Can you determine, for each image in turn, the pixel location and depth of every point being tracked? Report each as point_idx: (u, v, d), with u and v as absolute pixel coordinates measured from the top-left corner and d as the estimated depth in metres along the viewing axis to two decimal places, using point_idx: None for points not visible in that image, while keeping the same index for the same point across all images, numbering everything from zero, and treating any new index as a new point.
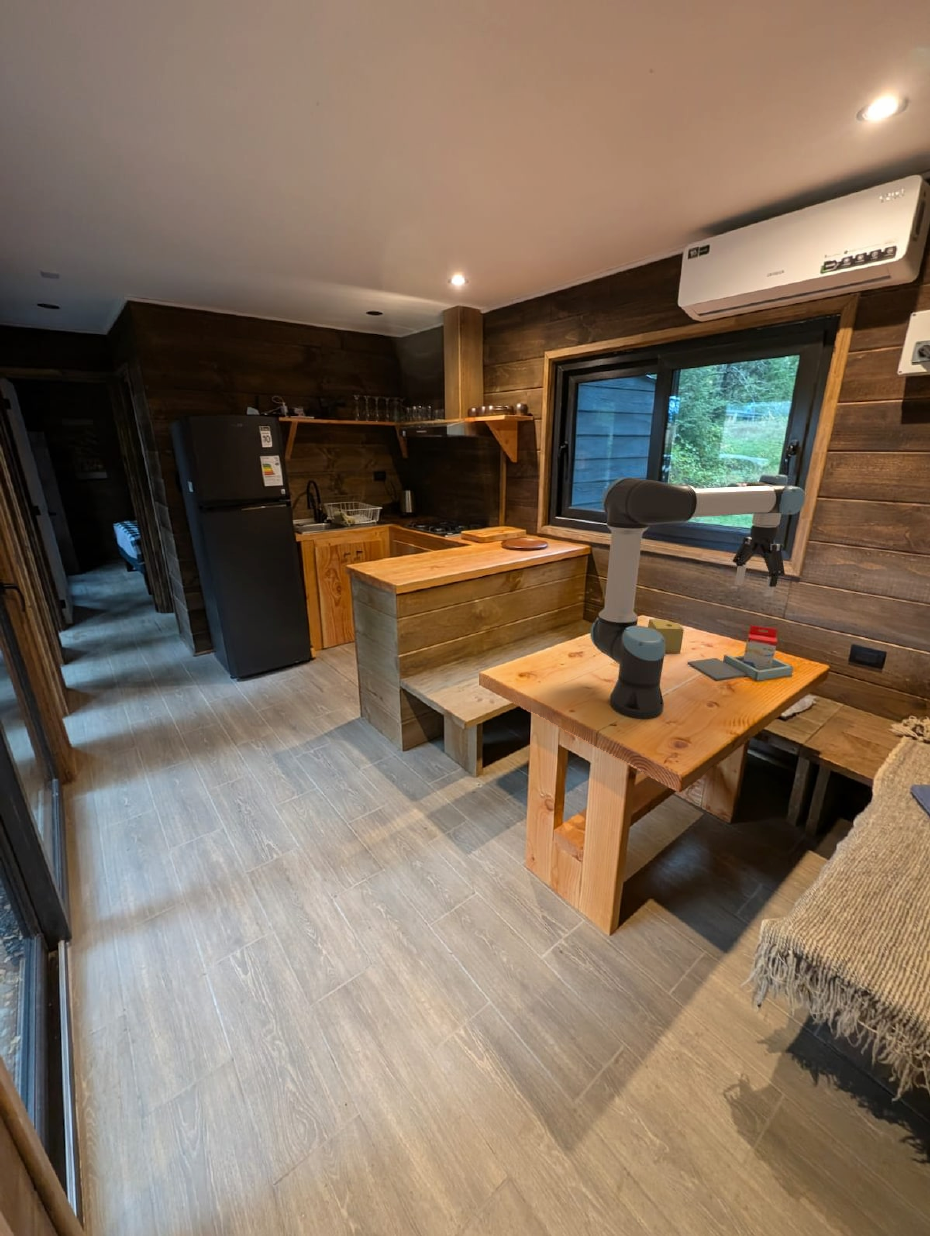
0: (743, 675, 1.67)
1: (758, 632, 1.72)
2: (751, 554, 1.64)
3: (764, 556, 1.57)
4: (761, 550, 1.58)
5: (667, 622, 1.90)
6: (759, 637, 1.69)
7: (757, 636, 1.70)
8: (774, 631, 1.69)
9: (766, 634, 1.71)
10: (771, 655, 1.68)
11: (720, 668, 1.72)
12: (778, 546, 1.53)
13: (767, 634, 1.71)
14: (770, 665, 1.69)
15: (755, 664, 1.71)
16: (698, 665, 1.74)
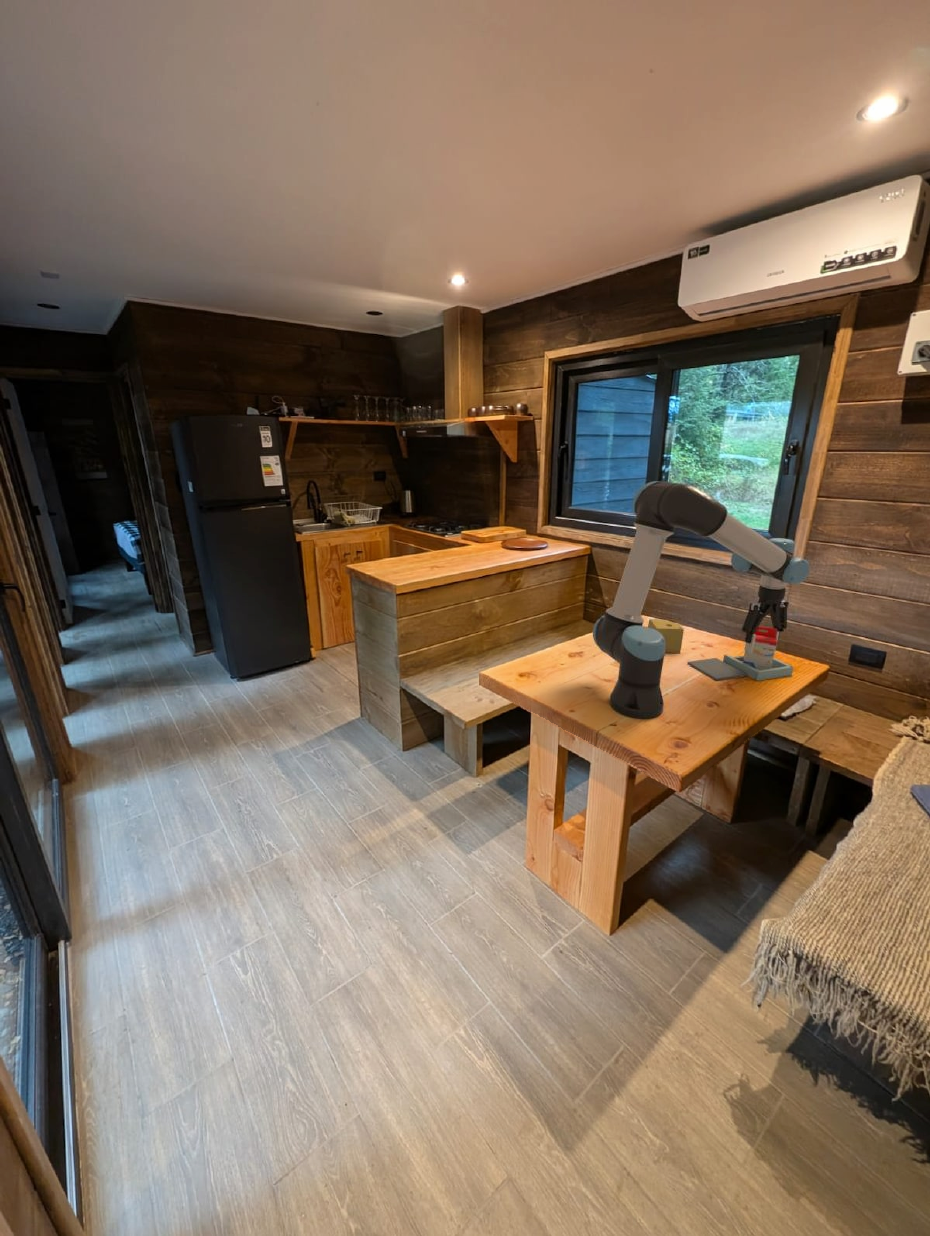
0: (743, 675, 1.67)
1: (758, 632, 1.72)
2: (773, 615, 1.68)
3: None
4: None
5: (667, 622, 1.90)
6: (759, 637, 1.69)
7: (757, 636, 1.70)
8: (774, 631, 1.69)
9: (766, 634, 1.71)
10: (771, 655, 1.68)
11: (720, 668, 1.72)
12: (752, 606, 1.64)
13: (767, 634, 1.71)
14: (770, 665, 1.69)
15: (755, 664, 1.71)
16: (698, 665, 1.74)
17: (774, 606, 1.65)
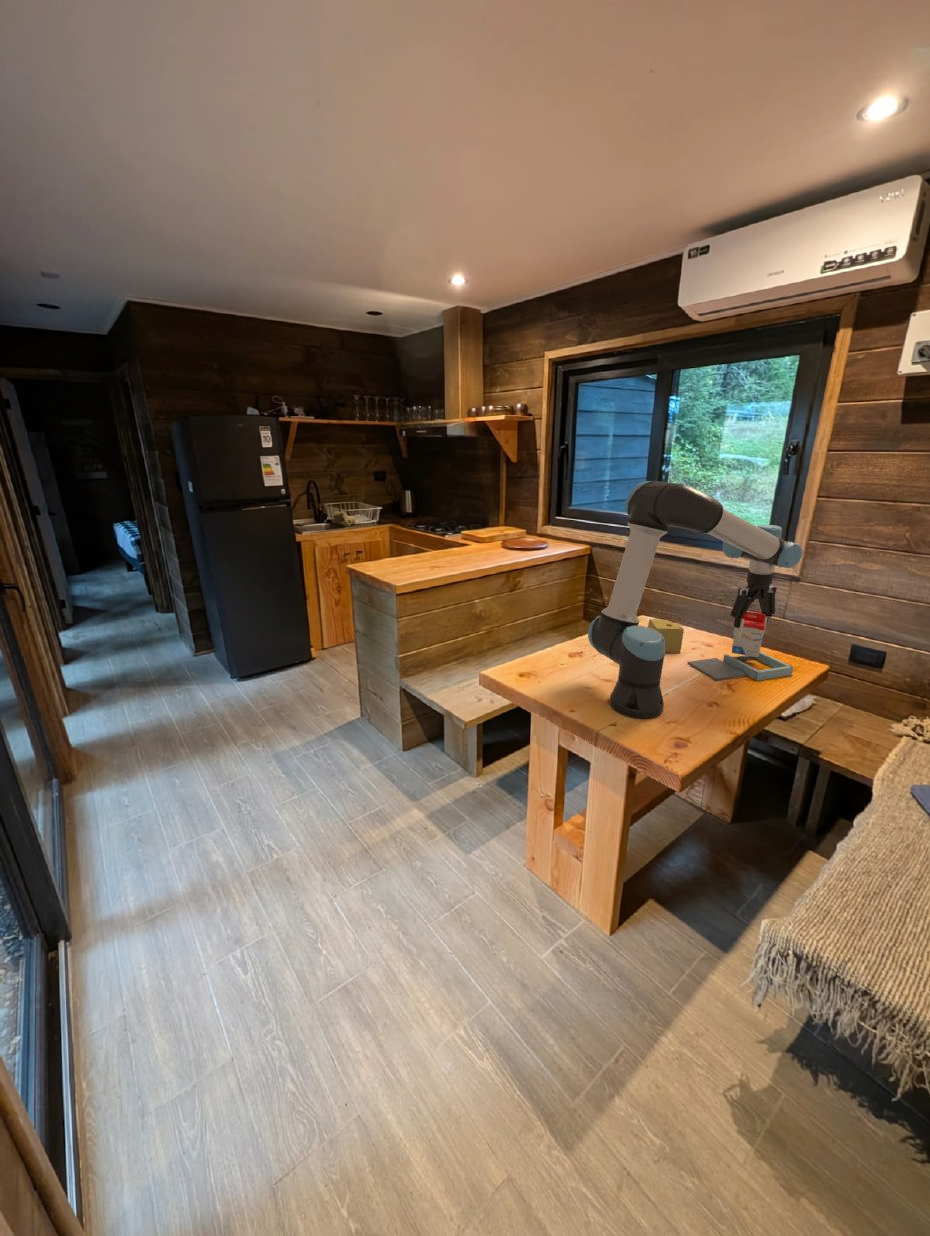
0: (743, 675, 1.67)
1: (747, 618, 1.76)
2: (761, 601, 1.72)
3: None
4: None
5: (667, 622, 1.90)
6: (748, 622, 1.73)
7: (746, 621, 1.74)
8: (762, 616, 1.73)
9: (755, 619, 1.75)
10: (759, 639, 1.72)
11: (720, 668, 1.72)
12: (741, 591, 1.68)
13: (756, 619, 1.75)
14: (758, 649, 1.73)
15: (744, 648, 1.75)
16: (698, 665, 1.74)
17: (762, 591, 1.69)
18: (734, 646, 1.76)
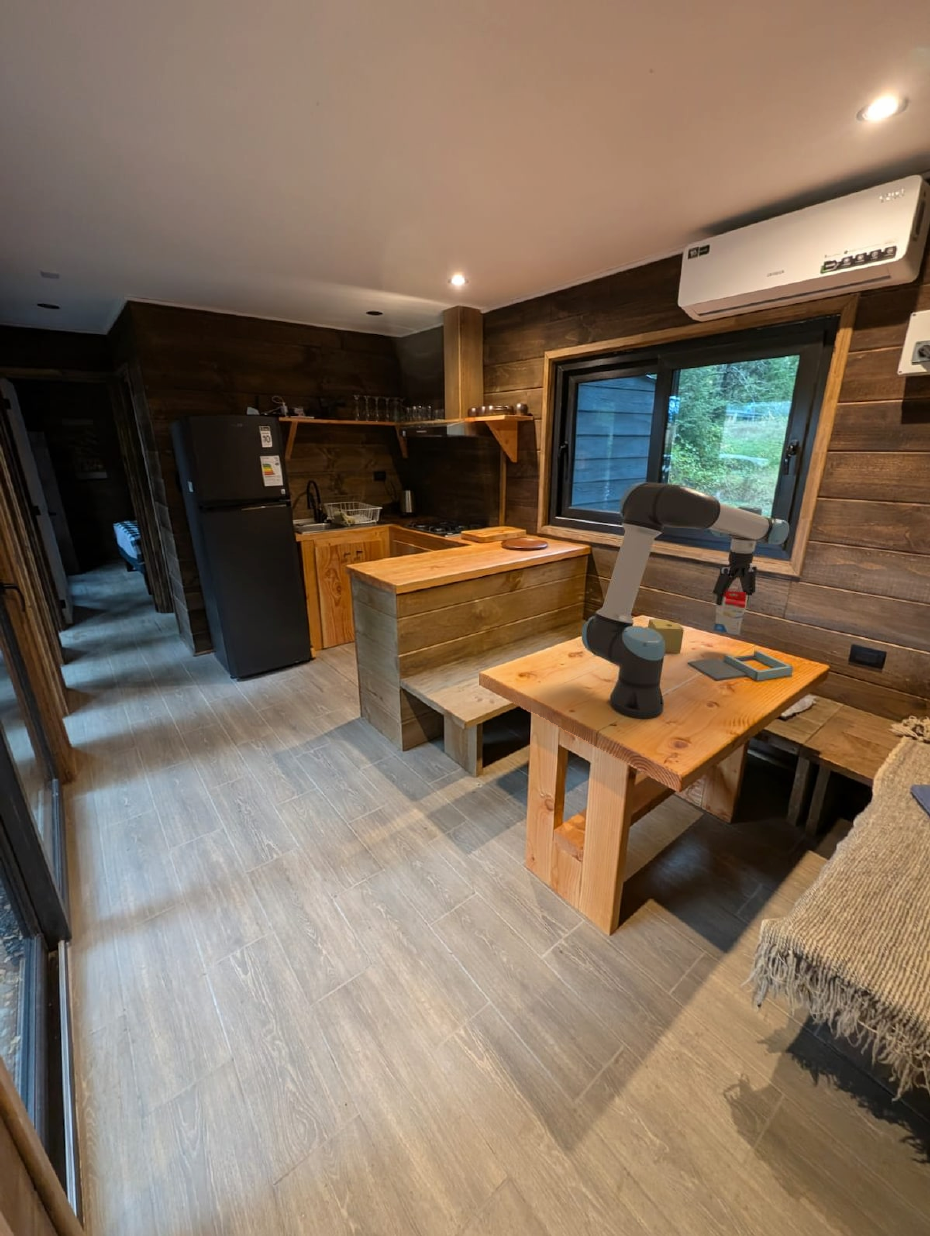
0: (743, 675, 1.67)
1: (729, 596, 1.83)
2: (742, 580, 1.79)
3: None
4: None
5: (667, 622, 1.90)
6: (729, 600, 1.80)
7: (727, 599, 1.81)
8: (743, 595, 1.80)
9: (736, 598, 1.81)
10: (740, 617, 1.78)
11: (720, 668, 1.72)
12: (722, 569, 1.75)
13: (737, 598, 1.81)
14: (739, 626, 1.79)
15: (725, 625, 1.81)
16: (698, 665, 1.74)
17: (743, 570, 1.75)
18: (716, 624, 1.83)
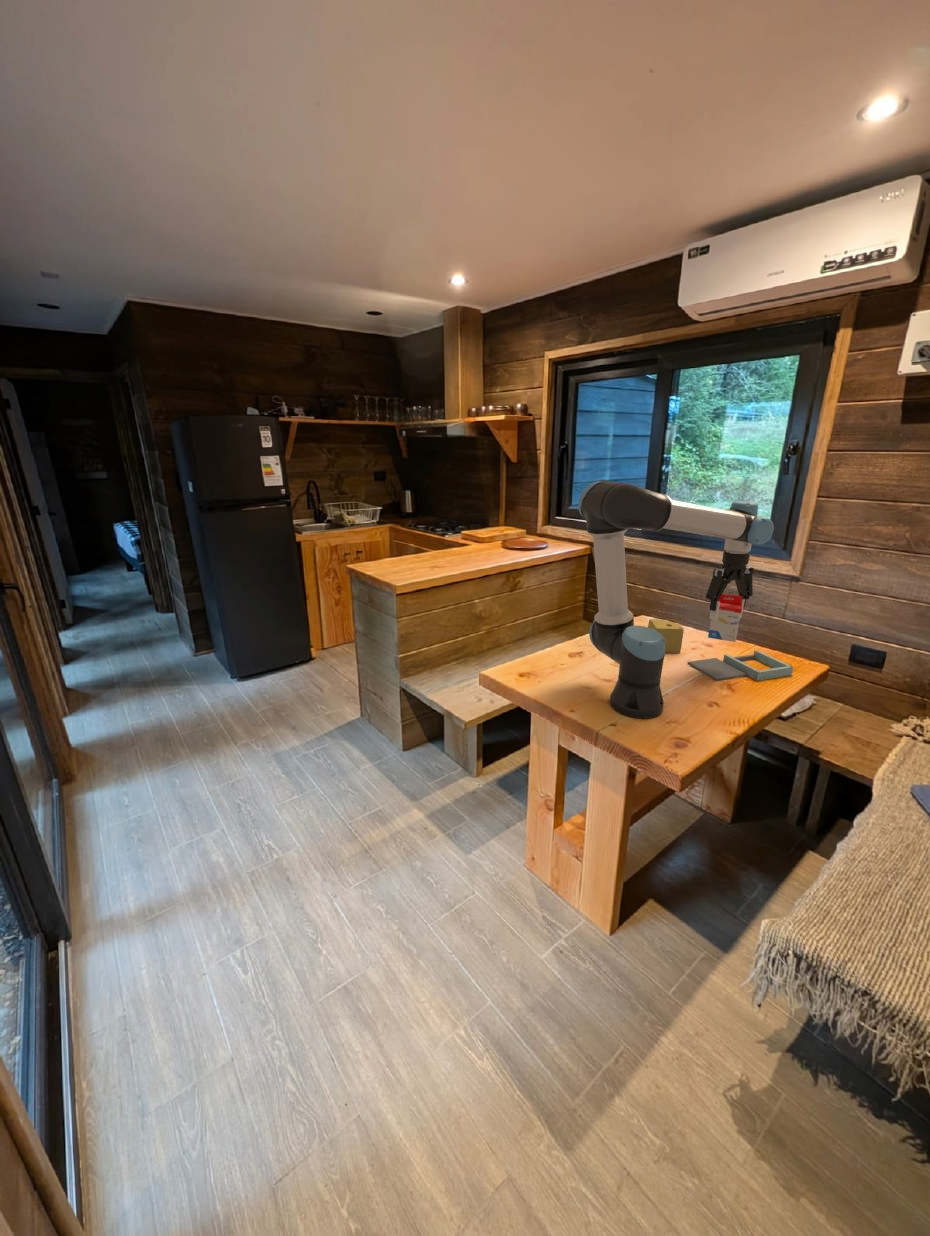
0: (743, 675, 1.67)
1: (724, 600, 1.67)
2: (738, 582, 1.63)
3: None
4: None
5: (667, 622, 1.90)
6: (724, 605, 1.65)
7: (722, 604, 1.65)
8: (740, 598, 1.64)
9: (731, 602, 1.66)
10: (736, 623, 1.63)
11: (720, 668, 1.72)
12: (716, 572, 1.59)
13: (733, 602, 1.66)
14: (735, 633, 1.64)
15: (720, 632, 1.66)
16: (698, 665, 1.74)
17: (738, 572, 1.60)
18: (710, 630, 1.68)
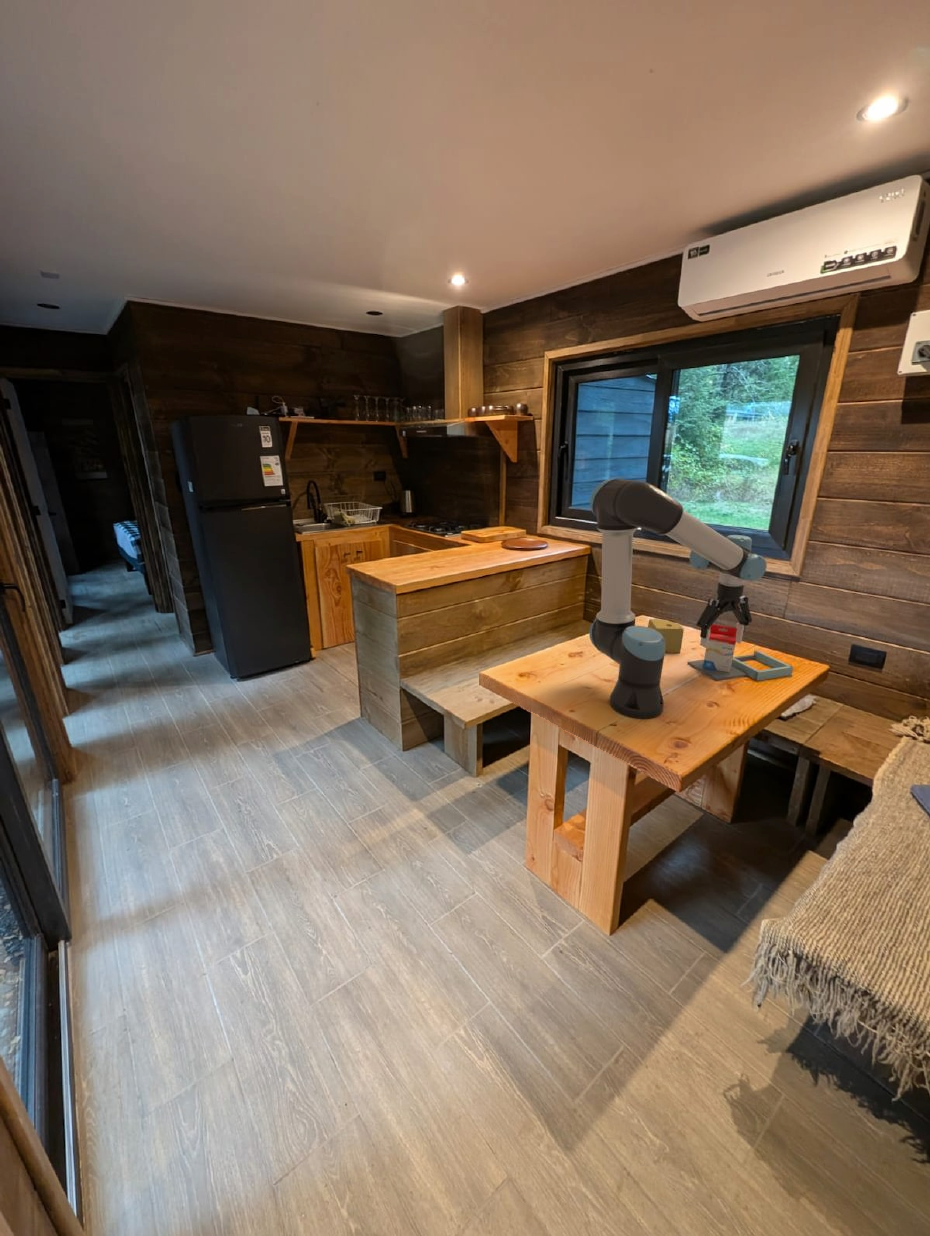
0: (743, 675, 1.67)
1: (718, 631, 1.71)
2: (735, 612, 1.67)
3: None
4: None
5: (667, 622, 1.90)
6: (719, 636, 1.68)
7: (717, 635, 1.69)
8: (734, 630, 1.68)
9: (726, 633, 1.70)
10: (730, 654, 1.67)
11: None
12: (711, 601, 1.62)
13: (727, 633, 1.69)
14: (729, 664, 1.68)
15: (715, 663, 1.70)
16: (698, 665, 1.74)
17: (733, 604, 1.64)
18: (705, 661, 1.71)
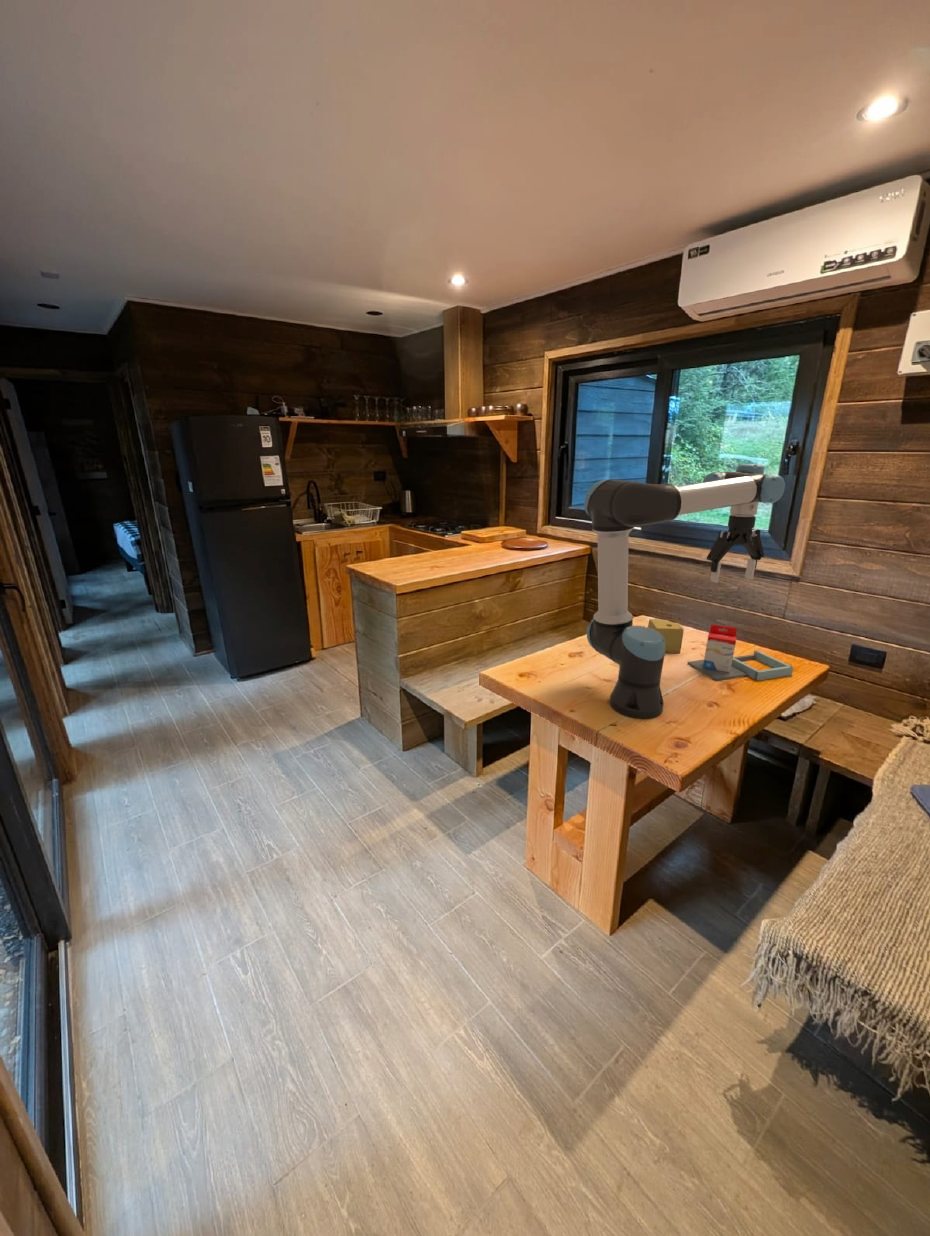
0: (743, 675, 1.67)
1: (718, 631, 1.71)
2: (746, 545, 1.63)
3: None
4: None
5: (667, 622, 1.90)
6: (719, 636, 1.68)
7: (717, 635, 1.69)
8: (734, 630, 1.68)
9: (726, 633, 1.70)
10: (730, 654, 1.67)
11: None
12: (722, 533, 1.58)
13: (727, 633, 1.69)
14: (729, 664, 1.68)
15: (715, 663, 1.70)
16: (698, 665, 1.74)
17: (744, 536, 1.59)
18: (705, 661, 1.71)
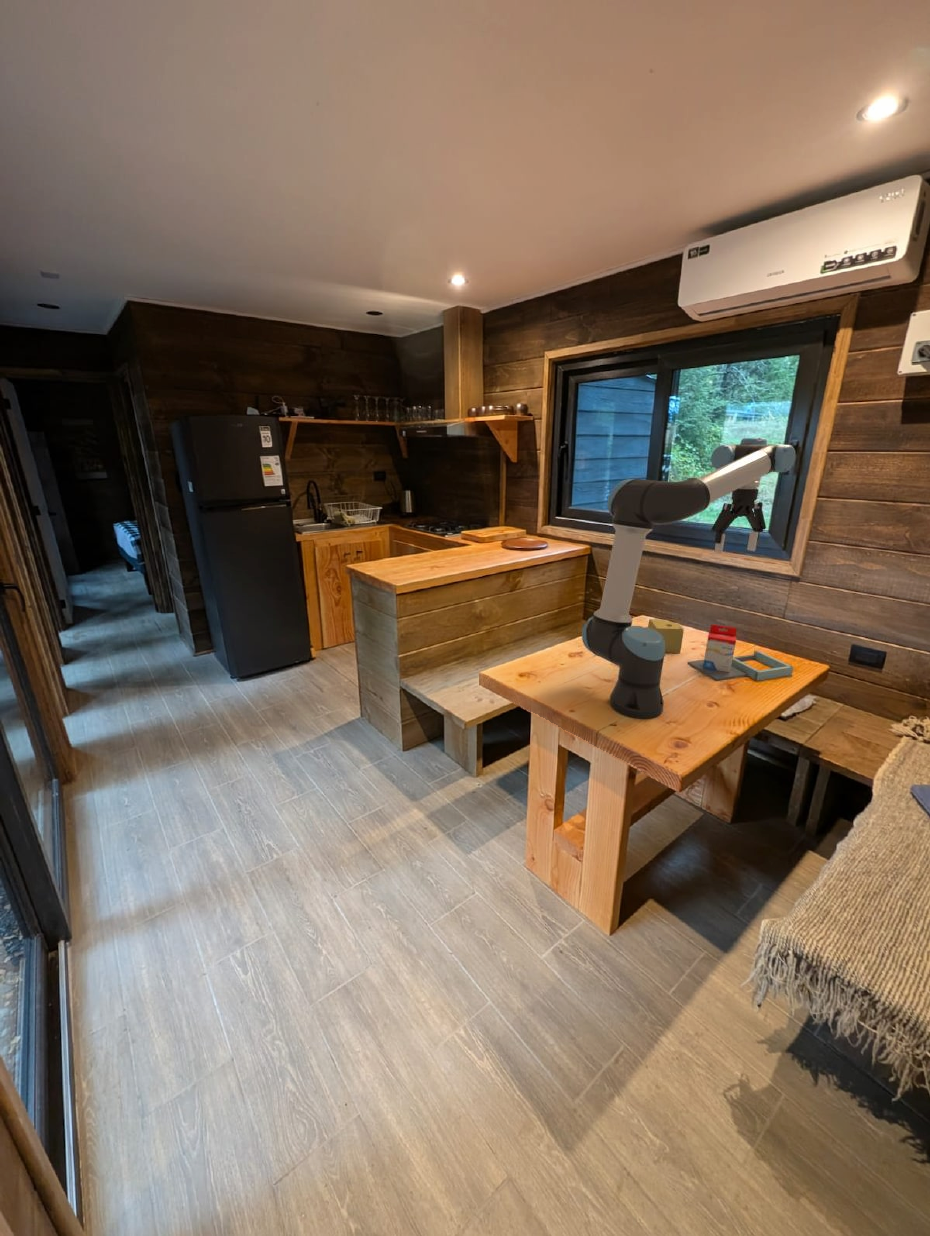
0: (743, 675, 1.67)
1: (718, 631, 1.71)
2: (749, 518, 1.68)
3: None
4: None
5: (667, 622, 1.90)
6: (719, 636, 1.68)
7: (717, 635, 1.69)
8: (734, 630, 1.68)
9: (726, 633, 1.70)
10: (730, 654, 1.67)
11: None
12: (726, 505, 1.64)
13: (727, 633, 1.69)
14: (729, 664, 1.68)
15: (715, 663, 1.70)
16: (698, 665, 1.74)
17: (747, 508, 1.65)
18: (705, 661, 1.71)
